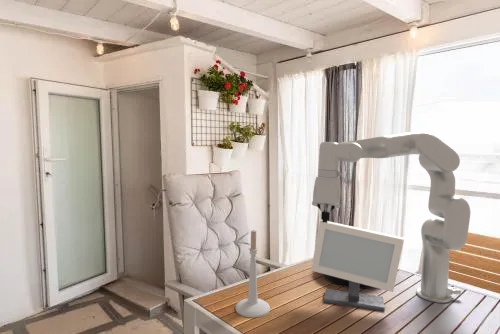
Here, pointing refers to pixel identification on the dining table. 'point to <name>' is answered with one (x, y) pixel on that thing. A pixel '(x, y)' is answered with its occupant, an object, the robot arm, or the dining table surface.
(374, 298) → the frame stand
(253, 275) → the candlestick
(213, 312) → the dining table surface
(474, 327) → the dining table surface
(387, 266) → the picture frame
